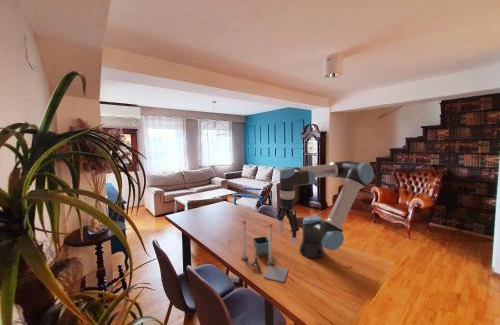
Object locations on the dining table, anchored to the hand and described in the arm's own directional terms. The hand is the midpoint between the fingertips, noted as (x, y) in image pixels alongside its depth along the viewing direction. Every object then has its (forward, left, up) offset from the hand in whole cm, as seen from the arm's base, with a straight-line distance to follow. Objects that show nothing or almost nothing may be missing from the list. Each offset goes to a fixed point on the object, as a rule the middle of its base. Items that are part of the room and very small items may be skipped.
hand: (287, 237), depth 113 cm
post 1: (-7, -27, -21) cm, 35 cm away
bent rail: (-2, -17, -21) cm, 27 cm away
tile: (+2, -5, -21) cm, 22 cm away
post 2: (-7, -11, -21) cm, 25 cm away
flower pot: (-16, -19, -21) cm, 33 cm away
